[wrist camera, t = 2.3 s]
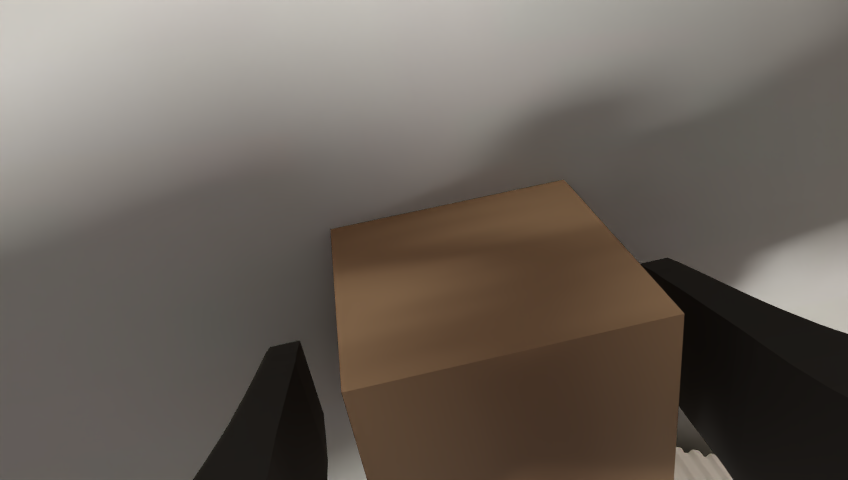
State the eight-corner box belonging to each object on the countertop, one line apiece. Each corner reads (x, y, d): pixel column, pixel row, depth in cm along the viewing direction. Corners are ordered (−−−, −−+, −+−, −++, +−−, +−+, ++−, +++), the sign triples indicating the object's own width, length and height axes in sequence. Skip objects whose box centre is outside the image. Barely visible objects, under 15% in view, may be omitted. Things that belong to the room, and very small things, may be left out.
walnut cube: (376, 403, 16) (403, 600, 11) (330, 227, 13) (341, 392, 9) (571, 358, 16) (670, 531, 12) (562, 178, 13) (684, 313, 9)
